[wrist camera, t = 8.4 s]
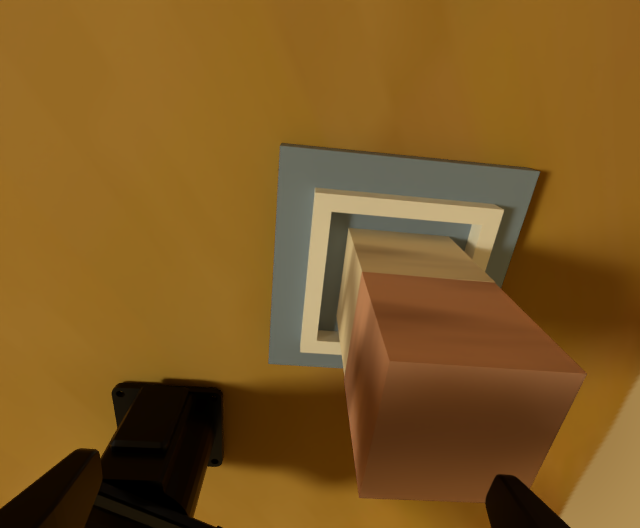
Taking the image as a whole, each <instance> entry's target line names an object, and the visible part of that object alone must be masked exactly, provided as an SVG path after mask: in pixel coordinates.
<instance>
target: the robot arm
mask: <svg viewBox="0 0 640 528" xmlns="http://www.w3.org/2000/svg"><path fill="white" fill-rule="evenodd" d="M121 391H122V392H121ZM123 392H124V393H123ZM212 396H216V397H212ZM112 398H113V404H114V410H115V416H116V422H117V430H116V432H115V434H114V435H113V437H112V439H111V441H110V443H109V444H108V446H107V448H106V449H105V451H104V453H103V455H102V456H101V458H100V454H99V452H98V450H96V449H84V448H81V449H77V450H75V451H73V452H72V453H71V454H69V455H68V456H67V457H66V458H64V459H63V460H62V461H60V462H59V463H58V464H57V465H55V466H54V467H53V468H52V469H50V470H49V471H48V472H46V473H45V474H44V475H43V476H41V477H40V478H39V479H38V480H36V481H35V482H34V483H33V484H31V485H30V486H29V487H27V488H26V489H25V490H24V491H22V492H21V493H20V494H19V495H17V496H16V497H15V498H13V499H12V500H11V501H10V502H8V503H7V504H6V505H5V506H3V507H2V508H1V509H0V528H222V527H220V526H217V527H214V526H212V525H209V524H207V523H205V522H202V521H200V520H197V519H195V518H193V517H194V513H195V509H196V506H197V502H198V498H199V495H200V491H201V487H202V484H203V480H204V476H205V473H206V469H207V466H210V467H217V466H220V465H221V464H222V461H223V457H224V456H223V393H222V391H221V390H219V389H217V388H206V387H188V386H169V385H151V384H133V383H119V384H117V385H116V386H115V387H114V389H113V391H112ZM485 504H486V510H487V513H488V517H489V521H490V524H491V528H570V527H569V526H568V525H567V524H566V523H565V522H564V521H563V520H562V519H561V518H560V517H559V516H558V515H557V514H556V513H554V512H553V511H552V510H551V509H550V508H549V507H548V506H547V505H546V504H545V503H544V502H543V501H542V500H541V499H540V498H539V497H538V496H536V495H535V494H534V493H533V492H532V491H531V490H530V489H529V488H528V487H527V486H526V485H525V484H524V483H523V482H522V481H521V480H520V479H518V478H517V477H516V476H514V475H506V474H498V475H496V476H495V478H494V480H493V482H492V484H491V486H490V488H489V490H488V493H487V495H486V499H485Z"/></svg>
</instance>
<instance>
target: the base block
mask: <svg viewBox="0 0 640 528" xmlns="http://www.w3.org/2000/svg"><path fill="white" fill-rule="evenodd" d="M362 272H372V273H384V274H396V275H408V276H421V277H433V278H445V279H457V280H470V281H482V282H494V283H495V281H494V280H493V279H492V278H490V277H489V276H488V275H487V274H486V273H485V272H484V271H483V270H482V269H481V268H480V267H479V266H478V265H477V264H476V263H475V262H474V261H473V260H472V259H471V258H470V257H469V256H468V255H467V254H466V253H465V252H464V251H463V250H462V249H461V248H460V247H459V246H458V245H457V244H456V243H455V242H454V241H453V240H452V239H451V238H450V237H449V236H439V235H427V234H415V233H404V232H392V231H380V230H369V229H357V228H348V235H347V242H346V249H345V257H344V264H343V271H342V279H341V286H340V293H339V300H338V308H337V315H336V316H337V324H338V331H339V339H340V347H341V354H342V362H343V369H344V376H345V370H346V364H347V358H348V352H349V346H350V340H351V334H352V328H353V322H354V316H355V310H356V304H357V298H358V292H359V285H360V279H361V273H362Z"/></svg>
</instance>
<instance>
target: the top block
mask: <svg viewBox="0 0 640 528" xmlns="http://www.w3.org/2000/svg"><path fill="white" fill-rule="evenodd" d="M586 375H587V373H586V372H585V371H584V370H583V369H582V368H581V367H580V366H579V365H578V364H577V363H576V362H575V361H574V360H572V359H571V358H570V357H569V356H568V355H567V354H566V353H565V352H564V351H563V350H562V349H561V348H560V347H559V346H558V345H557V344H556V343H555V342H554V341H553V340H552V339H551V338H550V337H549V336H548V335H547V334H546V333H545V332H544V331H543V330H542V329H541V328H540V327H539V326H538V325H537V324H536V323H535V322H534V321H533V320H532V319H531V318H530V317H529V316H528V315H527V314H526V313H525V312H524V311H523V310H522V309H521V308H520V307H519V306H518V305H517V304H516V303H515V302H514V301H513V300H512V299H511V298H510V297H509V296H508V295H507V294H506V293H505V292H504V291H503V290H502V289H501V288H500V287H499V286H498V285H497V284H496V283H494V282H482V281H470V280H457V279H445V278H433V277H421V276H408V275H396V274H384V273H372V272H362V273H361V279H360V285H359V292H358V298H357V304H356V310H355V316H354V322H353V328H352V334H351V340H350V346H349V352H348V358H347V364H346V370H345V376H344V385H345V392H346V400H347V408H348V416H349V423H350V431H351V439H352V447H353V454H354V462H355V470H356V478H357V485H358V493H359V498H373V499H399V500H425V501H451V502H477V503H485V499H486V495H487V493H488V490H489V488H490V486H491V484H492V482H493V480H494V478H495V476H496V475H498V474H506V475H514V476H516V477H517V478H518V479H520V480H521V481H522V482H523V483H524V484H525V485H526V486H527V487H528V488H529V489H530V487H531V485H532V483H533V481H534V479H535V477H536V475H537V473H538V471H539V469H540V467H541V465H542V463H543V461H544V459H545V457H546V455H547V453H548V451H549V449H550V447H551V445H552V443H553V441H554V439H555V437H556V435H557V433H558V431H559V429H560V427H561V425H562V423H563V421H564V419H565V417H566V415H567V413H568V411H569V409H570V407H571V405H572V403H573V401H574V399H575V397H576V395H577V393H578V391H579V389H580V387H581V385H582V383H583V381H584V379H585V377H586Z"/></svg>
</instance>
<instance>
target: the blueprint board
mask: <svg viewBox="0 0 640 528" xmlns="http://www.w3.org/2000/svg"><path fill="white" fill-rule="evenodd" d="M539 173H540V171H537V170H534V169H531V168H525V167H515V166H505V165H495V164H485V163H475V162H465V161H455V160H445V159H435V158H425V157H415V156H405V155H395V154H385V153H375V152H366V151H356V150H346V149H336V148H326V147H316V146H306V145H296V144H286V143H281V145H280V159H279V177H278V196H277V214H276V233H275V252H274V270H273V289H272V307H271V326H270V345H269V363H268V364H280V365H297V366H314V367H331V368H343V362H342V354H341V347H340V339H339V331H338V324H337V316H336V315H337V308H338V300H339V293H340V286H341V279H342V271H343V264H344V257H345V249H346V242H347V235H348V228H357V229H369V230H380V231H392V232H404V233H415V234H427V235H439V236H449V237H450V238H451V239H452V240H453V241H454V242H455V243H456V244H457V245H458V246H459V247H460V248H461V249H462V250H463V251H464V252H465V253H466V254H467V255H468V256H469V257H470V258H471V259H472V260H473V261H474V262H475V263H476V264H477V265H478V266H479V267H480V268H481V269H482V270H483V271H484V272H485V273H486V274H487V275H488V276H489V277H490V278H492V279H493V280H494V281H495V283H496V284H497V285H498V286H499V287H500V288H501V287H502V284H503V281H504V278H505V275H506V272H507V269H508V266H509V263H510V260H511V257H512V254H513V251H514V248H515V245H516V242H517V239H518V236H519V233H520V230H521V227H522V224H523V221H524V218H525V215H526V212H527V209H528V206H529V203H530V200H531V197H532V194H533V191H534V188H535V185H536V182H537V179H538V176H539Z"/></svg>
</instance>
